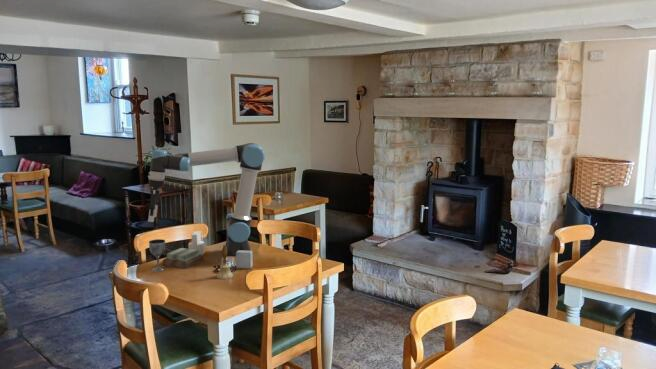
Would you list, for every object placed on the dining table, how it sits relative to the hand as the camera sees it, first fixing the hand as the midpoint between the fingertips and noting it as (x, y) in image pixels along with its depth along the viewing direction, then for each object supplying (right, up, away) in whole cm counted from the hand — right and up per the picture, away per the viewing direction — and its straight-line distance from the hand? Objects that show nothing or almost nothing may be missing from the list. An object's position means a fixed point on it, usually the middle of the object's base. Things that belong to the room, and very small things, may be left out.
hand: (152, 219), depth 266 cm
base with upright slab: (+17, -22, +26) cm, 38 cm away
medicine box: (+49, -26, +1) cm, 55 cm away
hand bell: (+41, -28, -13) cm, 51 cm away
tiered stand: (+14, -24, +8) cm, 29 cm away
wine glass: (+4, -26, -3) cm, 27 cm away
